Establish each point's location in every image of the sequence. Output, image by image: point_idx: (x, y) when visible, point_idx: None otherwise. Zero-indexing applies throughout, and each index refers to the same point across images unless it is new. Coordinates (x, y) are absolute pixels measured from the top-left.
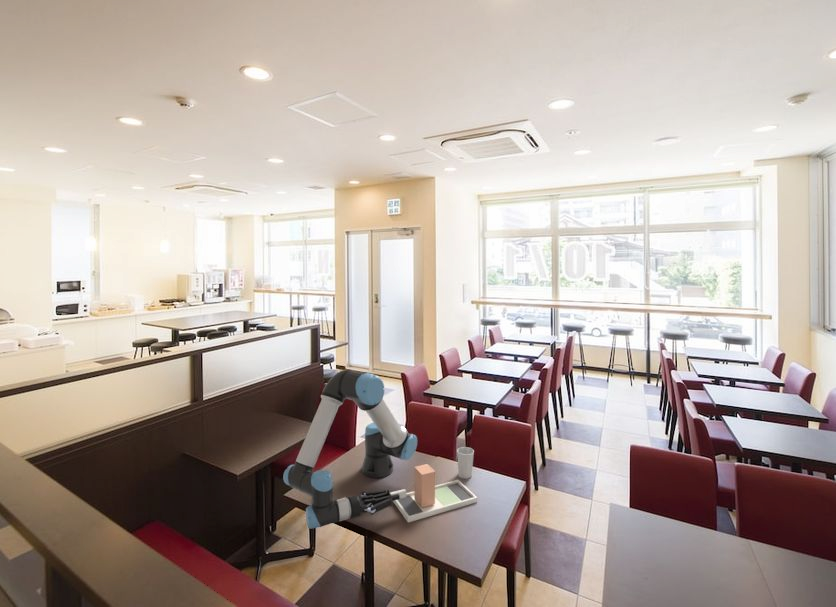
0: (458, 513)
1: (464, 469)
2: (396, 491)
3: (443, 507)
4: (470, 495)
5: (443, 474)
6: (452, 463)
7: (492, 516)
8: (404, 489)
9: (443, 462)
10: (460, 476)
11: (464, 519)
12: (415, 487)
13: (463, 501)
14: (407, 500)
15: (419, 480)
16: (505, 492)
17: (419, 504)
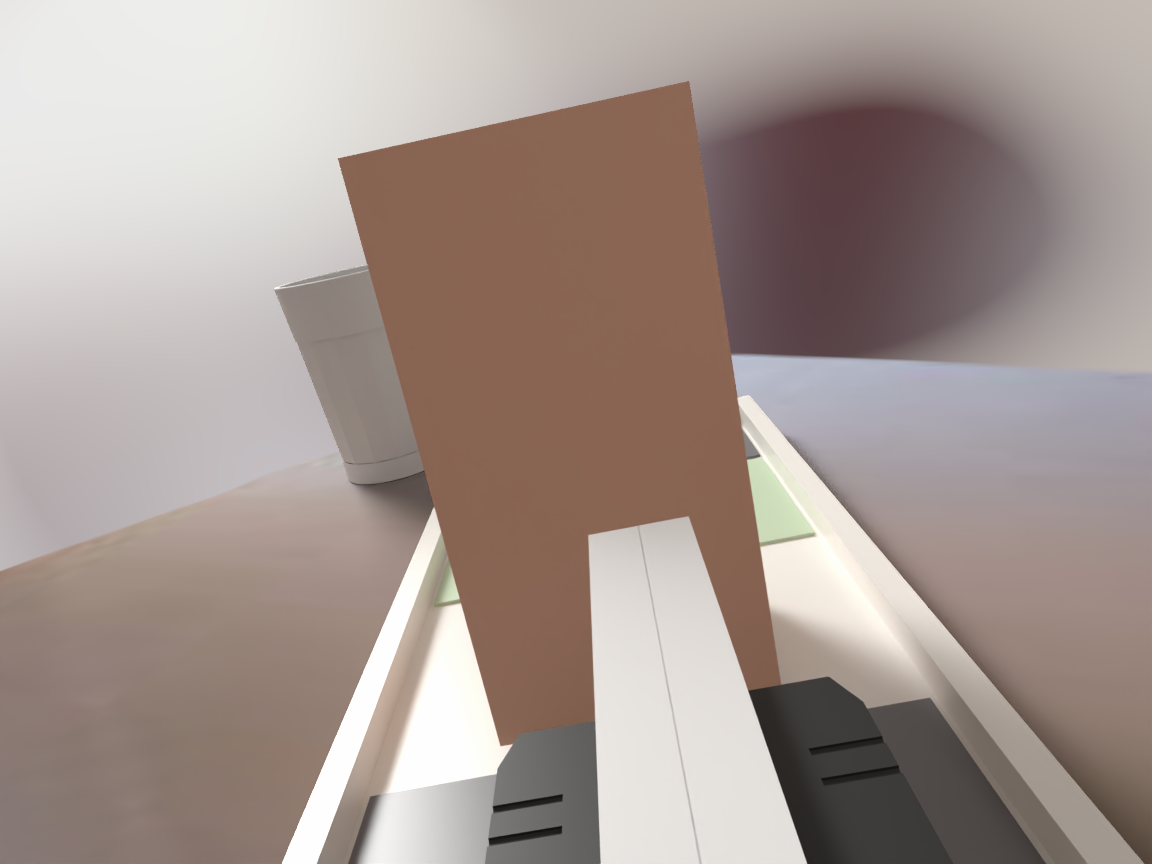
0: (900, 499)
1: None
2: (627, 685)
3: (852, 520)
4: None
5: (273, 539)
6: (213, 500)
7: (959, 391)
8: (617, 539)
9: (142, 531)
10: (400, 471)
11: (1009, 476)
12: (488, 540)
13: (779, 434)
14: (468, 857)
15: (611, 287)
16: None
17: None
